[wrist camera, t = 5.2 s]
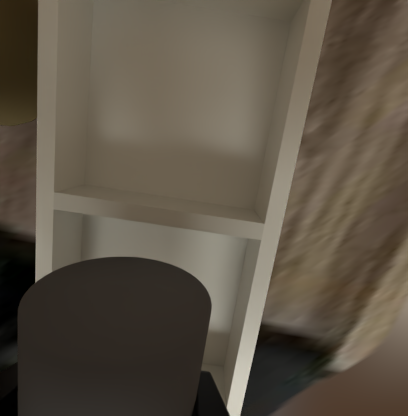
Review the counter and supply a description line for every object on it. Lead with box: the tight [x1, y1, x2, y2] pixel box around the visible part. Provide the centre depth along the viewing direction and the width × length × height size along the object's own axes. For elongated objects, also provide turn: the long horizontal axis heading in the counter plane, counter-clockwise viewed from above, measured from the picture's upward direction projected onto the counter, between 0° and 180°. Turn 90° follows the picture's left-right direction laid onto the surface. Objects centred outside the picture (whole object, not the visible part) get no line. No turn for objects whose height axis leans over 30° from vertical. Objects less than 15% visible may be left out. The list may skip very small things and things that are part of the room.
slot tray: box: [35, 0, 332, 416], centre depth 11 cm, size 16×8×3 cm, turn 172°
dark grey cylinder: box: [18, 257, 212, 416], centre depth 7 cm, size 6×4×4 cm, turn 171°
